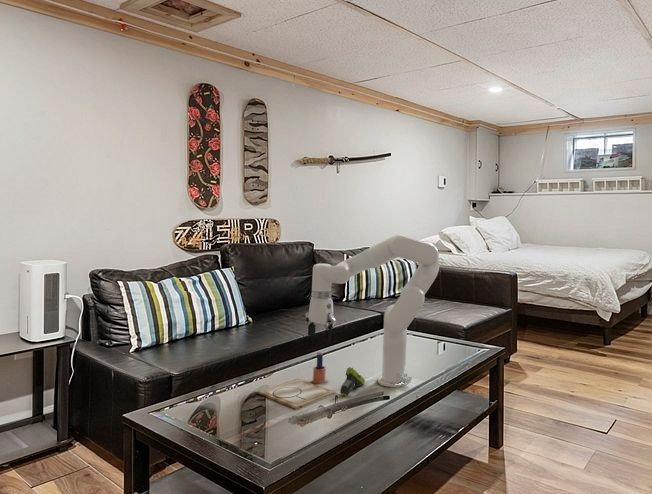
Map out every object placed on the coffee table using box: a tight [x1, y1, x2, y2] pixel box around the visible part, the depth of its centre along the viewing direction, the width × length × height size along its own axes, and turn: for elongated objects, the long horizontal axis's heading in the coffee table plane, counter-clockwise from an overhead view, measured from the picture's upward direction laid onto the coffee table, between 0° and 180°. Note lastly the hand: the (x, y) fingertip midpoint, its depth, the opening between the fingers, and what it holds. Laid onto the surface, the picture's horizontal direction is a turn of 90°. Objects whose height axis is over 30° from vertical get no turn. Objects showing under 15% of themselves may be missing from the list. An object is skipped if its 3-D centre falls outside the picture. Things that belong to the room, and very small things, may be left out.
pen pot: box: [312, 365, 327, 384], centre depth 197 cm, size 5×5×6 cm
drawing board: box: [258, 378, 336, 410], centre depth 185 cm, size 22×18×1 cm
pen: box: [316, 350, 324, 369], centre depth 197 cm, size 2×2×12 cm
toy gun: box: [339, 366, 366, 398], centre depth 189 cm, size 2×14×10 cm
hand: (319, 337), depth 197 cm, fingers open, 9 cm apart
